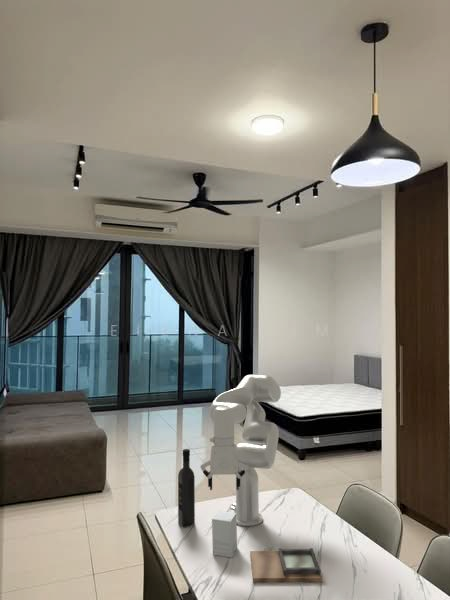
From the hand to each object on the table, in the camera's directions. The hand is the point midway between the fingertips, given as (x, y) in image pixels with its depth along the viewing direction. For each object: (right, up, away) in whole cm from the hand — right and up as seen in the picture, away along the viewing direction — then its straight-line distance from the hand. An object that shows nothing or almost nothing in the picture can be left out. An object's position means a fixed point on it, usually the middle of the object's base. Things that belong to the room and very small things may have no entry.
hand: (224, 488), depth 155 cm
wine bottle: (-16, -24, +20) cm, 35 cm away
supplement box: (0, -23, -1) cm, 23 cm away
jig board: (+20, -22, -12) cm, 32 cm away
